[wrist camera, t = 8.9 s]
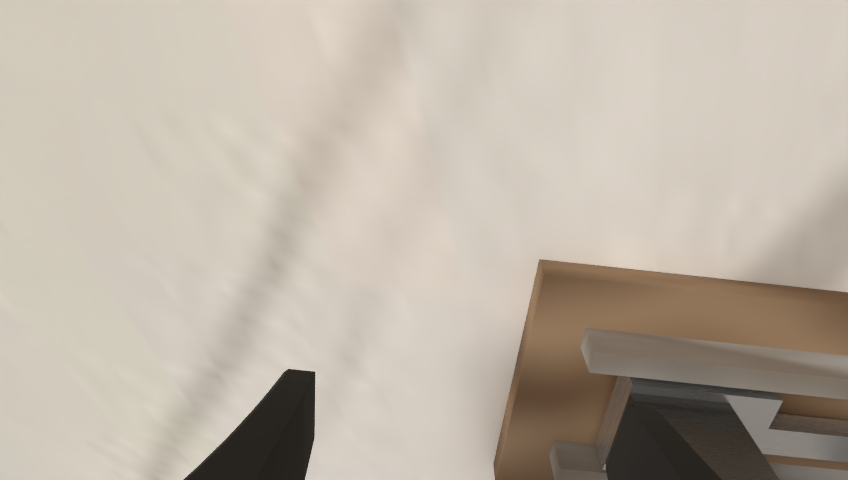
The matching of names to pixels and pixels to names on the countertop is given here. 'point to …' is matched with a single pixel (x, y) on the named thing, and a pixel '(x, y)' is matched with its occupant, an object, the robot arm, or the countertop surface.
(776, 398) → the plunger
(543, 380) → the base
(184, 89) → the countertop surface
